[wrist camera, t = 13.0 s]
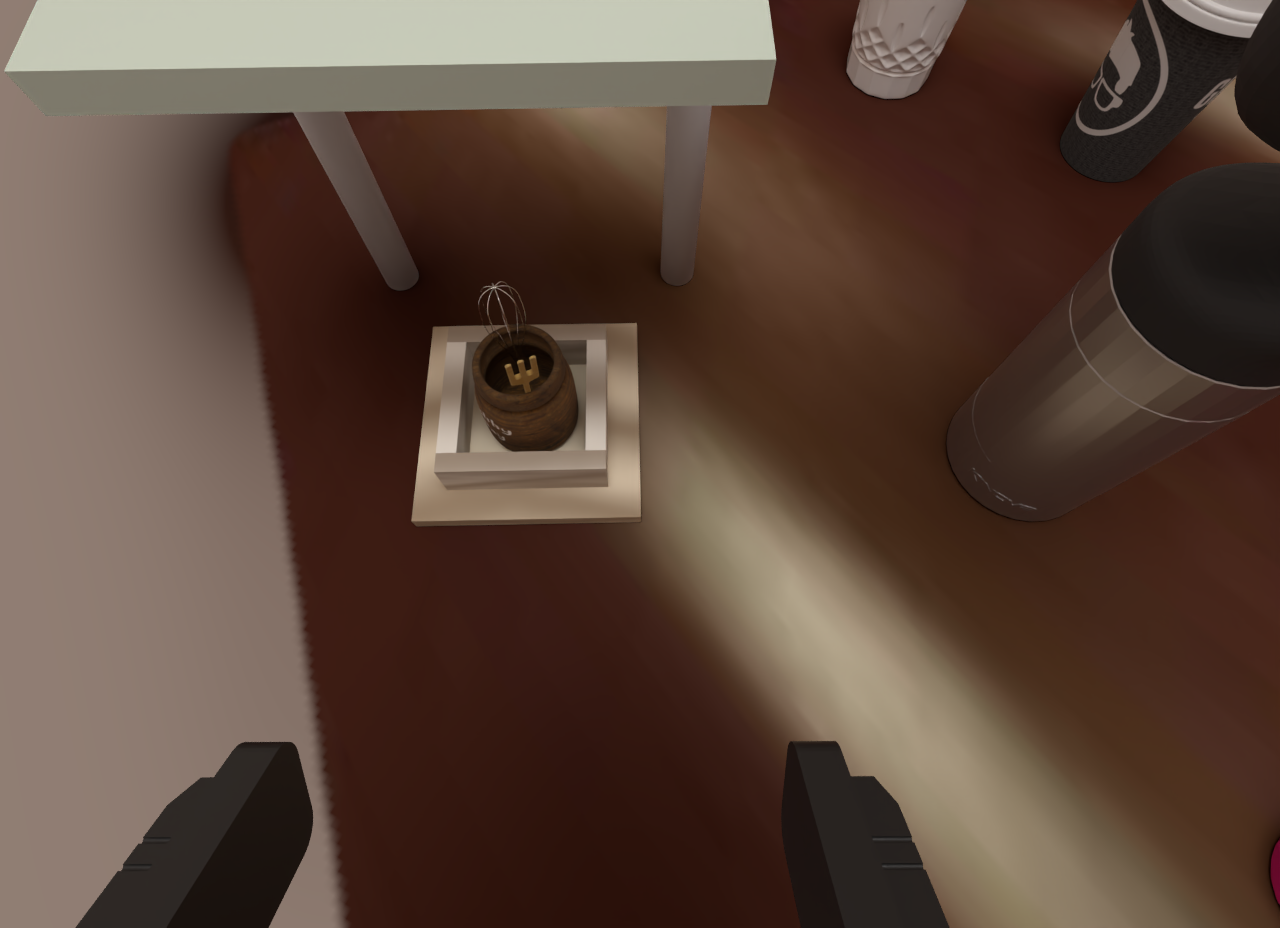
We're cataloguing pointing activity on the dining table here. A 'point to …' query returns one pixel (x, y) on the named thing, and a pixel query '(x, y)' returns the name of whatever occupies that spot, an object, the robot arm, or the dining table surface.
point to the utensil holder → (524, 386)
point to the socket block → (532, 480)
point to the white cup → (898, 44)
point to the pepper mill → (1276, 871)
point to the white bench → (408, 75)
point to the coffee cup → (1156, 82)
